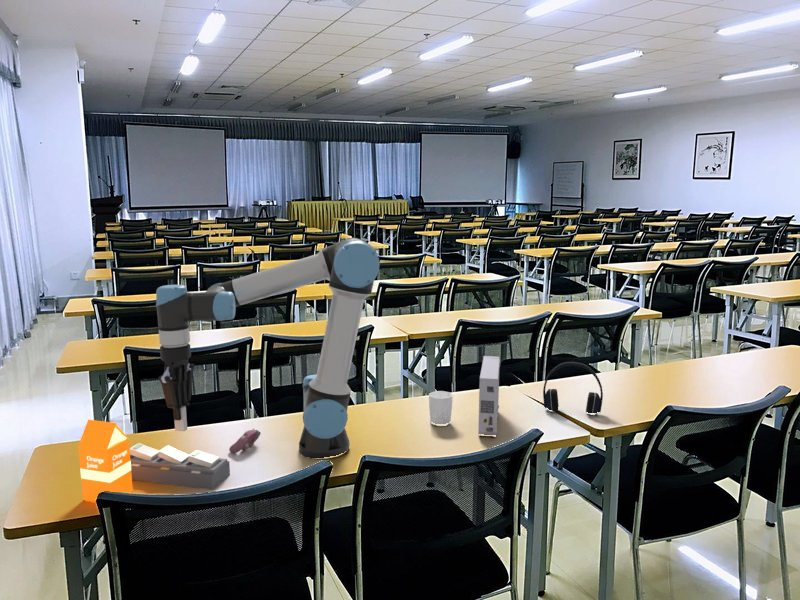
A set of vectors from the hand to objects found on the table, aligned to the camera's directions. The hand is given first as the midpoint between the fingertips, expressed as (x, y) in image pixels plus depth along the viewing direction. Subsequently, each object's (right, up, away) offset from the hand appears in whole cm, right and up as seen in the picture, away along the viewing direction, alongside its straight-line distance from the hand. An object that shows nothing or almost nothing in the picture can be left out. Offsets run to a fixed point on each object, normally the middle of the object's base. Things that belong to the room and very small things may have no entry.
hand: (181, 429), depth 169 cm
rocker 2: (-3, -7, +2) cm, 8 cm away
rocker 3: (+6, -8, 0) cm, 10 cm away
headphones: (+119, -5, +53) cm, 130 cm away
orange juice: (-16, -15, -8) cm, 23 cm away
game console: (+88, -7, +42) cm, 98 cm away
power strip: (-3, -13, +3) cm, 14 cm away
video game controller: (+12, -10, +22) cm, 27 cm away
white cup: (+72, -7, +43) cm, 84 cm away
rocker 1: (-11, -7, +4) cm, 14 cm away
